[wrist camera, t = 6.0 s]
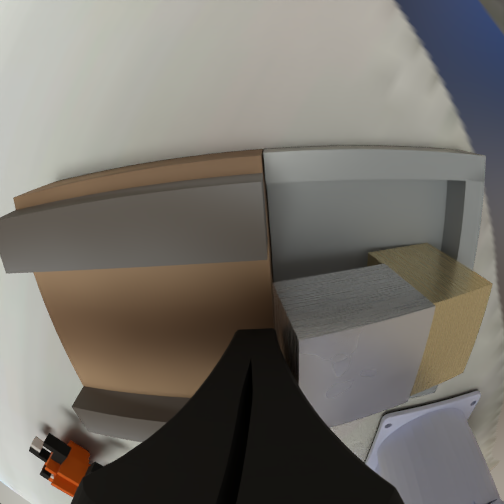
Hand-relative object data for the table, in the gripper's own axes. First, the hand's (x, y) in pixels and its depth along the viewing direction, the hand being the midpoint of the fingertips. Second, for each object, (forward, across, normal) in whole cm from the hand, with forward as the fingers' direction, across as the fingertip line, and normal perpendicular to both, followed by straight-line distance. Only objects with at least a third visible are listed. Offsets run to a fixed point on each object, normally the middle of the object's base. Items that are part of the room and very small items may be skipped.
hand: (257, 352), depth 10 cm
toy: (+4, +19, +18) cm, 26 cm away
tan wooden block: (+1, -5, 0) cm, 5 cm away
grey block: (+1, -3, 0) cm, 3 cm away
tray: (+4, -5, 0) cm, 6 cm away
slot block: (+4, +4, 0) cm, 6 cm away
